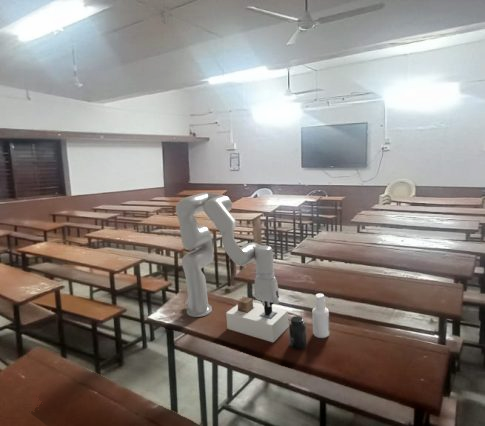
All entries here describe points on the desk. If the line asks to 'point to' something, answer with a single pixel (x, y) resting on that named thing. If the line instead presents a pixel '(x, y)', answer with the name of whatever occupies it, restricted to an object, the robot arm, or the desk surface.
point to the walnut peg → (245, 304)
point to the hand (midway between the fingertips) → (268, 313)
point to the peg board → (258, 322)
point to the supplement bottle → (297, 333)
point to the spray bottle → (320, 317)
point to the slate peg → (268, 315)
